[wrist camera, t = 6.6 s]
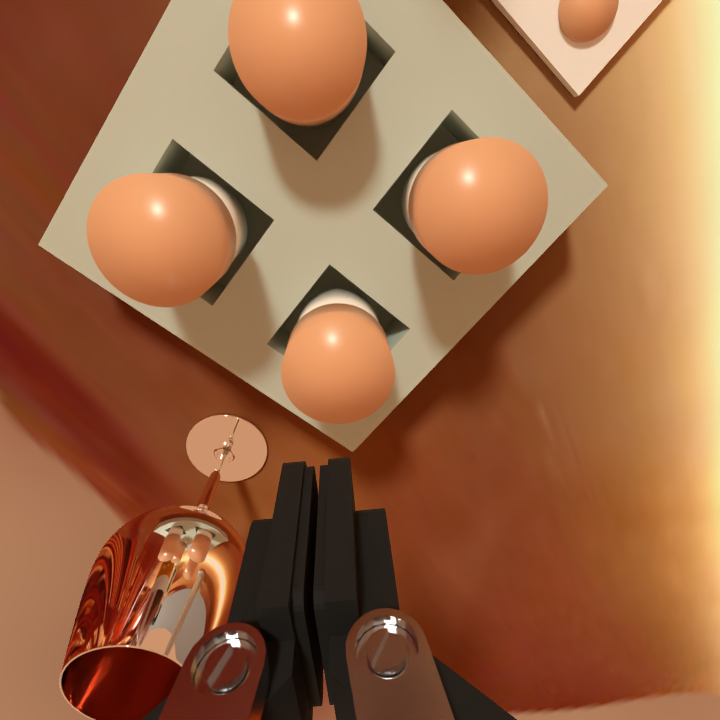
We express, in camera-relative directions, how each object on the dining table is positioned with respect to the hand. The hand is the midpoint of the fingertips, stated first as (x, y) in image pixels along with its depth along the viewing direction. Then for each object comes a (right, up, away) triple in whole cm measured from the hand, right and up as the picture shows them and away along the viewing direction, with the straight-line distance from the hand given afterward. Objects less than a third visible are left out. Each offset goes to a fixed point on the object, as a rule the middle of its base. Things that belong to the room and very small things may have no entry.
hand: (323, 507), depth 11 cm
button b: (-2, +19, +13) cm, 24 cm away
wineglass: (-10, -3, +25) cm, 27 cm away
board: (-1, +14, +17) cm, 22 cm away
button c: (0, +6, +17) cm, 18 cm away
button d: (-8, +11, +14) cm, 20 cm away
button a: (+6, +13, +14) cm, 20 cm away
